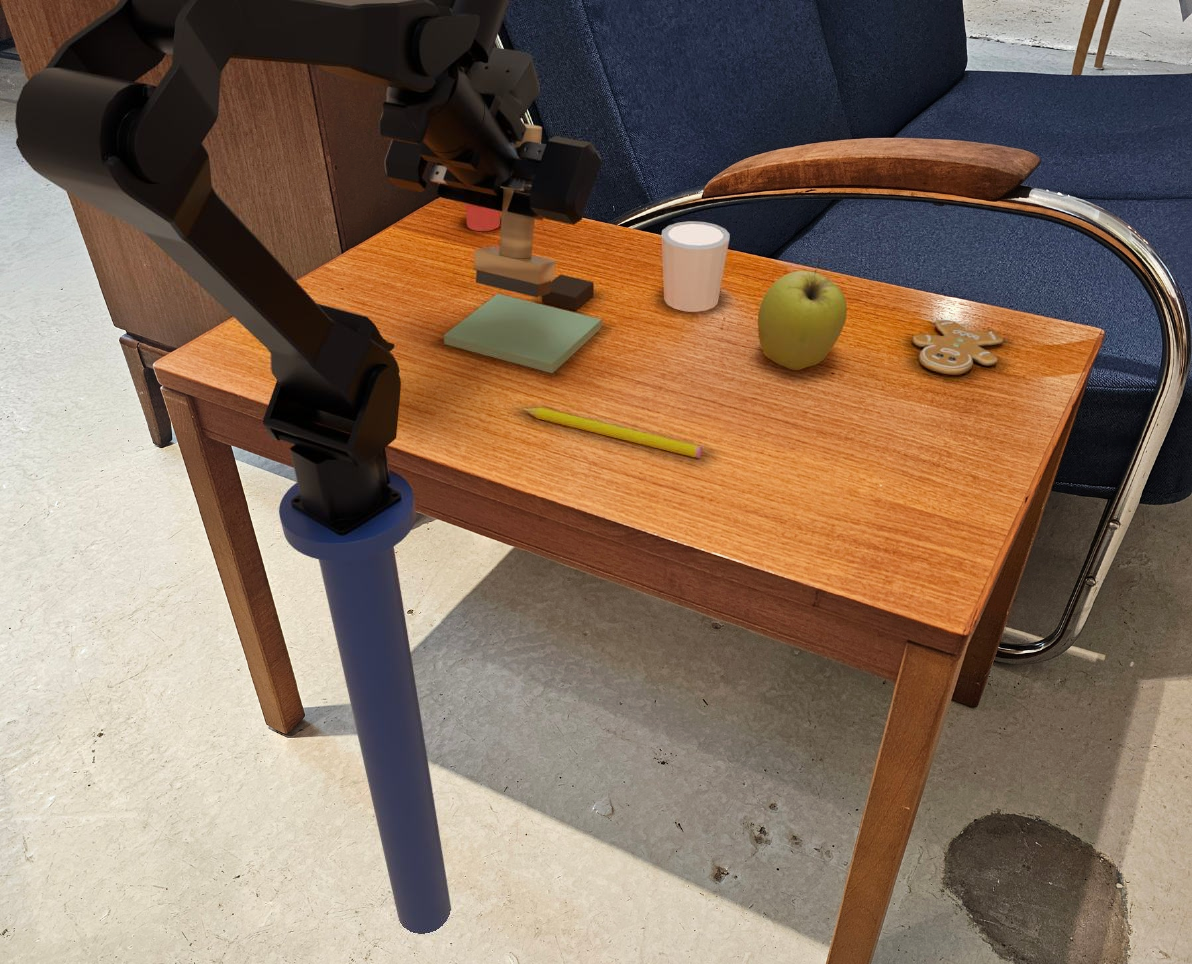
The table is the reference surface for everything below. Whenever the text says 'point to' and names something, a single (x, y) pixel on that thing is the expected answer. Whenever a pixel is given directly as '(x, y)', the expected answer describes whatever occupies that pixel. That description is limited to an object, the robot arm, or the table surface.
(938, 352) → the cookie
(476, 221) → the figurine
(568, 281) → the dark brown square block
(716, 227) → the white cup
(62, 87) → the robot arm
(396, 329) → the table surface
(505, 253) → the wooden rubber stamp
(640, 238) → the table surface
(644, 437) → the pencil
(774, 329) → the apple
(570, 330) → the mat
